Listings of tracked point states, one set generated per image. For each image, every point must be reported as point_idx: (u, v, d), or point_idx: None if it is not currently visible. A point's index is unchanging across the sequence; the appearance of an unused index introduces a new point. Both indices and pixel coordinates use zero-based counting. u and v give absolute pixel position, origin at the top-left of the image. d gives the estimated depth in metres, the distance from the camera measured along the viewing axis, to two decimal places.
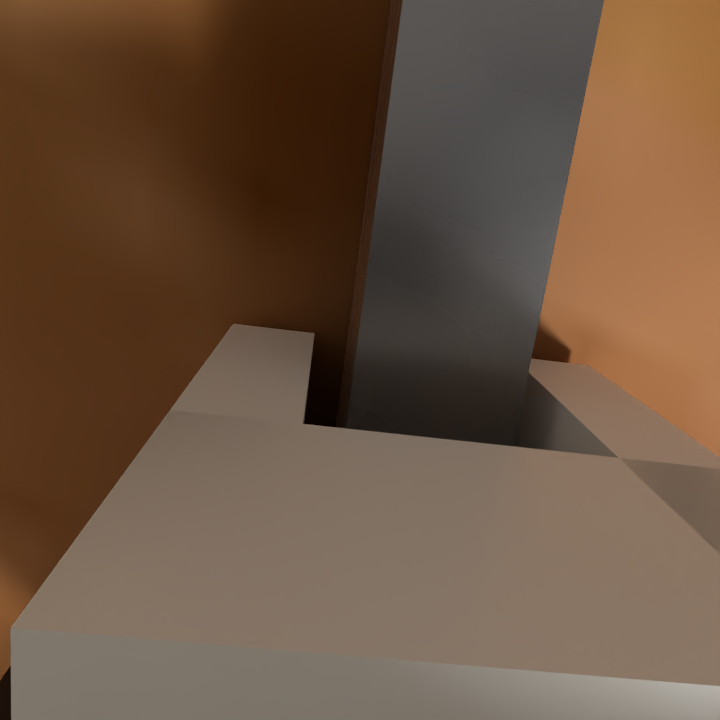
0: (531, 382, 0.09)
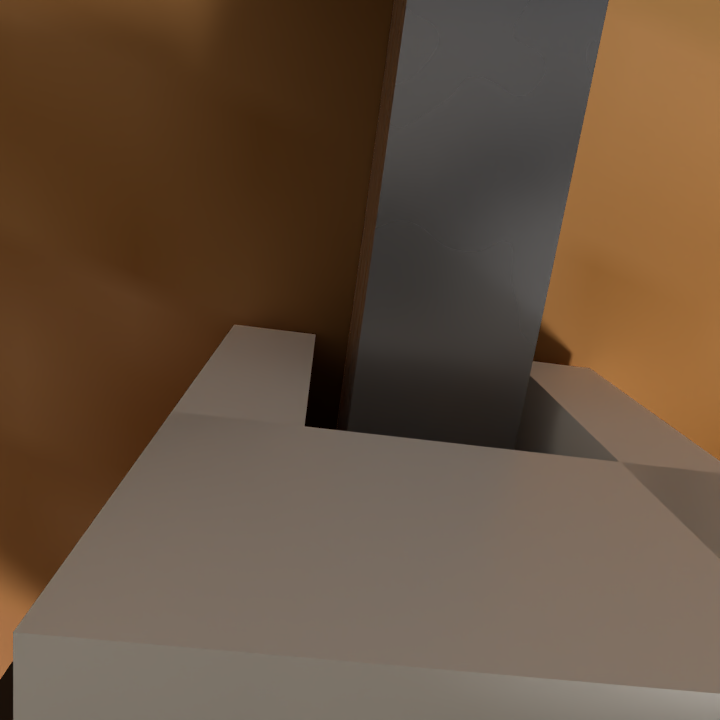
0: (532, 384, 0.09)
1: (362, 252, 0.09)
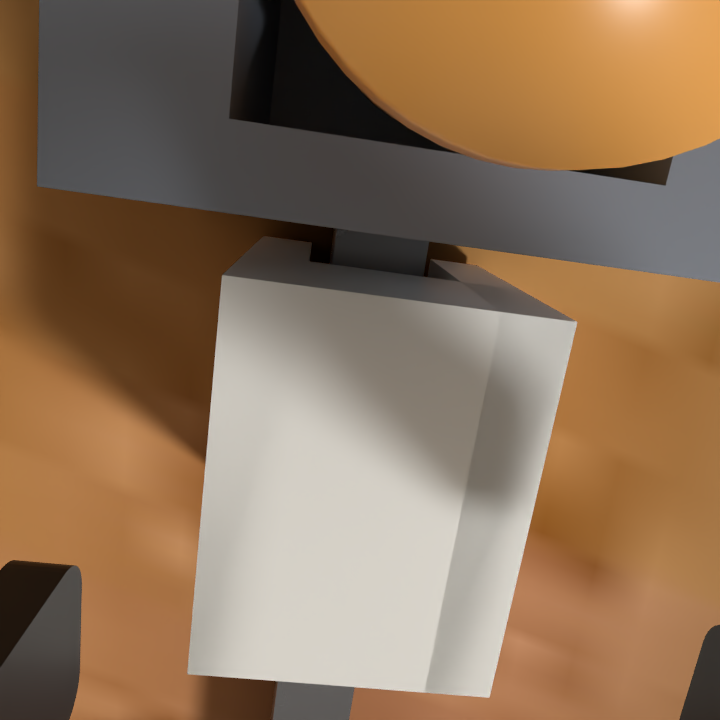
0: (436, 267, 0.15)
1: None
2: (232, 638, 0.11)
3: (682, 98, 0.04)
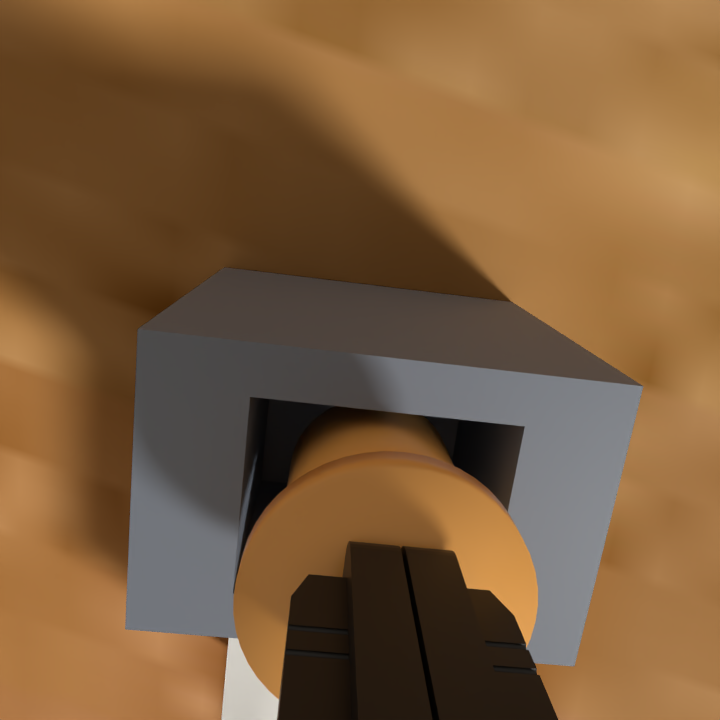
0: None
1: None
2: None
3: None
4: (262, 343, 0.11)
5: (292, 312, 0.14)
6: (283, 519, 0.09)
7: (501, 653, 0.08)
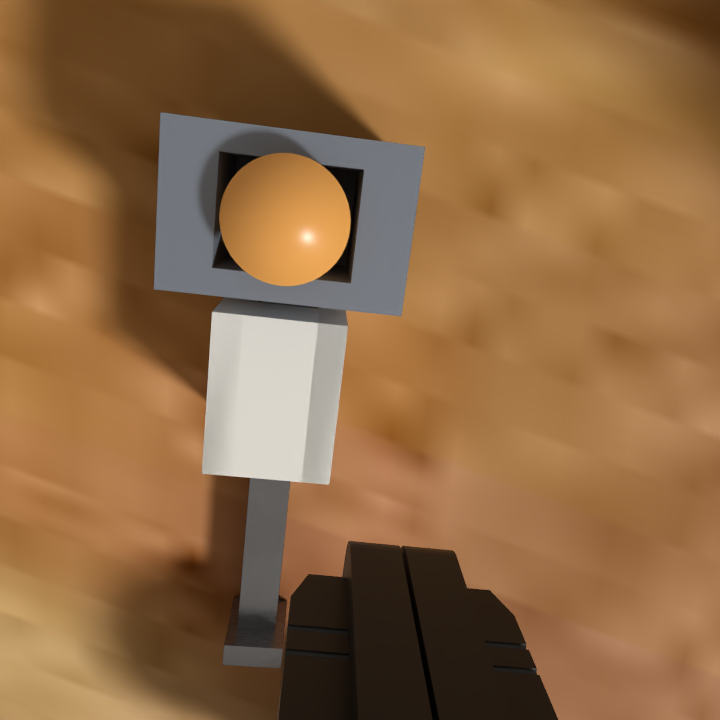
0: None
1: None
2: (220, 457, 0.27)
3: (306, 272, 0.22)
4: (224, 121, 0.22)
5: None
6: (239, 176, 0.21)
7: (501, 653, 0.08)
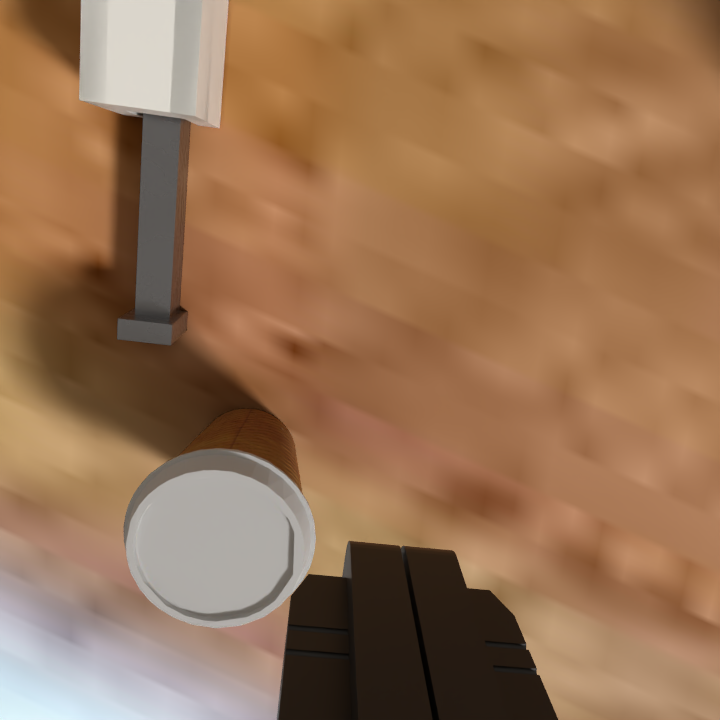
0: None
1: None
2: (95, 83, 0.30)
3: None
4: None
5: None
6: None
7: (501, 653, 0.08)
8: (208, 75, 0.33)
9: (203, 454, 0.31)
